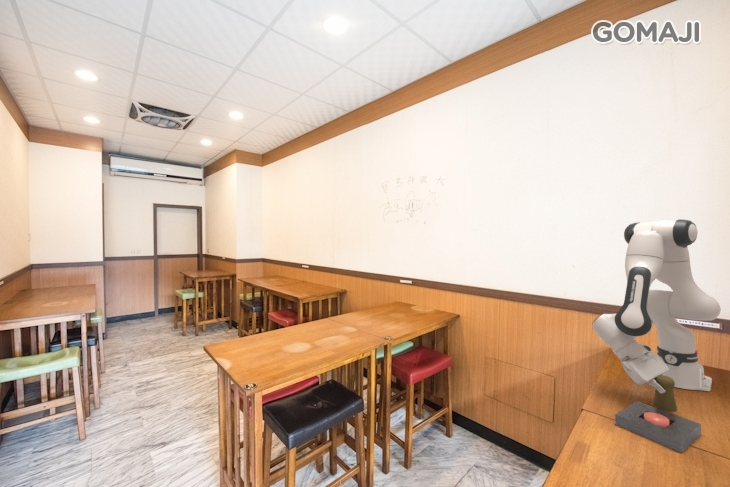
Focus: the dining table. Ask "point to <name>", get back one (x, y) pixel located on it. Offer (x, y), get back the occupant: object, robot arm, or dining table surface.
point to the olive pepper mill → (665, 394)
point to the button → (657, 419)
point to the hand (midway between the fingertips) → (667, 390)
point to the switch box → (672, 436)
